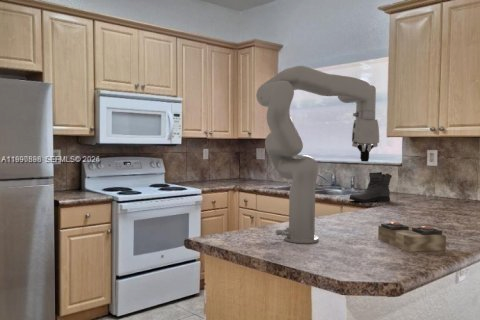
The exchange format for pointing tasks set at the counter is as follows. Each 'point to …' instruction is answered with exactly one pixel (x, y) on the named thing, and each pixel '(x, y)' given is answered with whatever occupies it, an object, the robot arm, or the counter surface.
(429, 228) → the peg
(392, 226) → the peg
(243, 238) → the counter surface
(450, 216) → the counter surface
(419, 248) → the maple block
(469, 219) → the counter surface
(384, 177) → the boot
